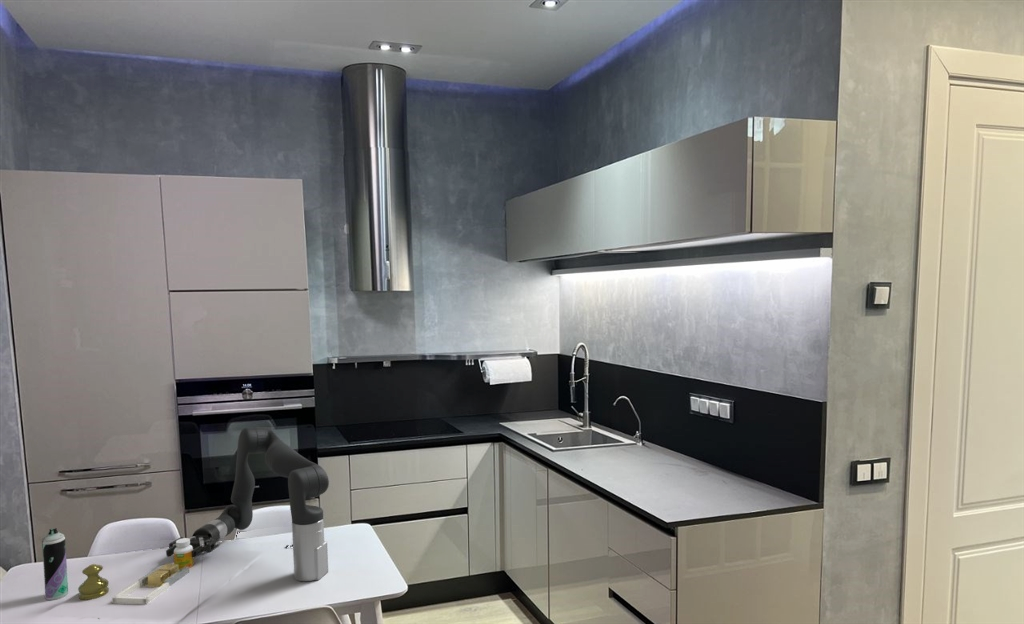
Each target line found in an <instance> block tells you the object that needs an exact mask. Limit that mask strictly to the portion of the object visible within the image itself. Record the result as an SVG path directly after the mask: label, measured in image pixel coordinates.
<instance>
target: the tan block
mask: <svg viewBox="0 0 1024 624" xmlns="http://www.w3.org/2000/svg"><path fill="white" fill-rule="evenodd" d="M167 578H169V571H167V570H156V571H155V572H153V573H152V574H150V575H149V576H148V586H162V585H163V584H164V580H166V579H167Z"/></svg>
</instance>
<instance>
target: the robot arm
mask: <svg viewBox="0 0 1024 624" xmlns="http://www.w3.org/2000/svg"><path fill="white" fill-rule="evenodd" d="M251 454H252V455H253V454H255V455H256V454H257V455H258V454H264V462H265V465H266V466H267V467H268V469H270V470H271V472H273V473H274V474H276V475H278V476H280V477H281V478H282V477H283V478H285V479H286V478H287V488H288V496H289V510H290V516H291V526H292V527H291V531H292V533H291V535H292V545H293V546H292V547H293V548H292V553H293V554H292V557H293V558H292V559H293V576H294V579H295V580H296V581H300V582H310V581H319V580H321V579H323V577H324V576H325V575H326V574H327V573H328V572H329V554H328V541H325V525H324V521H325V520H324V510H323V508H322V507H320V506H317V505H309V504H307V503H306V499H307V500H308V499H310V498H315V497H318V496H321V495H323V494H325V493H326V491H327V490H328V488H329V487H330V480H329V476H328V473H327V472H326V470H325V469H324V468H323V467H322V466H320V465H319V464H317V463H315V462H313V461H312V460H311V461H310V460H309V459H308V458H306V457H304V456H303V455H301V454H300V453H298V452H297V451H296V450H295V449H294V448H292V447H291V446H289V445H288V444H287V443H285V442H284V441H283V440H282V439H281V438H280V437H279V436H278V435H277V433H275V432H274V430H273V429H271V427H268V426H251V427H250V426H249V427H244V428H242V429H241V430H240V433H239V436H238V440H237V451H236V460H235V461H236V464H235V478H234V483H233V486H232V492H231V497H230V501H231V503H232V504H229V505H227V506H225V508H224V509H223V511H222V512H221V513H220V515H219V516H218V517H217V518H214V519H213V520H211V521H209V522H207V523H205V524H204V525H202V526H201V527H199V528H197V529H196V530H195V531H194V532H193V534H192V536H190V537H188V538H189V539H190V544H189V545H191V546H192V547H193V550H192V552H191V553H192V557H193V558H196V557H198V556H199V555H200V554H204V553H205V552H206V553H211V552H213V551H214V550H215V549H216V548H218V547H219V546H220V545H219V544H220V542H221V541H222V540H223V539H225V538H226V537H227V536H229V535H230V534H231V533H233V531H234V530H235V529H237V530H239V531H243V530H247V528H248V527H250V525H251V523H252V522H253V515H254V514H253V513H254V511H253V501H252V500H253V494H254V491H255V485H256V479H255V476H254V473H253V472H252V469H251V468H250V465H249V461H248V458H249V455H251ZM182 538H184V537H181V536H180V537H178V538H176V539H175V540H173V541H172V542H170V543H168V549H166V550H165V553H166V554H165V555H166V557H167V558H170V557H171V556H174V549H175V548H176V541H177V540H179V539H182Z"/></svg>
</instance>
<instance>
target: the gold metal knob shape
mask: <svg viewBox="0 0 1024 624" xmlns="http://www.w3.org/2000/svg"><path fill="white" fill-rule="evenodd" d="M103 569H104V566H103V565H101V564H95V563H93V564H89V565H88V566H86V567H85V568H84V569H83V570H82V574H83V575H86V579H85V580H84V581H83V582H82V583H81V584H80V585H79V586H78V588H77V589H78V590H77V591H78V593H79V594H78V599H79V600H80V601H92V600H95V599H99V598H101V597H104V596H105V595H107V594H108V593H109V590H110V588H109V580H108V579H107V578H103V577H102V576H100V574H99V573H100V572H101V571H102V570H103Z"/></svg>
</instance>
